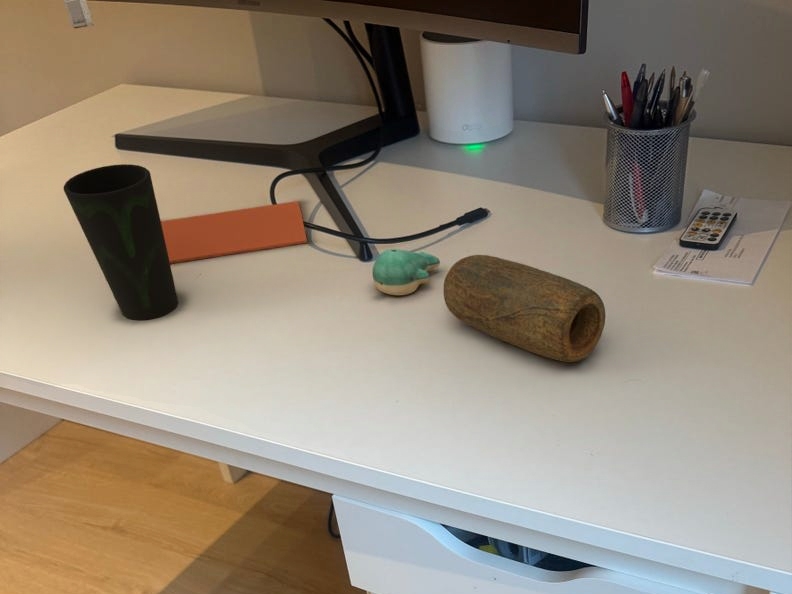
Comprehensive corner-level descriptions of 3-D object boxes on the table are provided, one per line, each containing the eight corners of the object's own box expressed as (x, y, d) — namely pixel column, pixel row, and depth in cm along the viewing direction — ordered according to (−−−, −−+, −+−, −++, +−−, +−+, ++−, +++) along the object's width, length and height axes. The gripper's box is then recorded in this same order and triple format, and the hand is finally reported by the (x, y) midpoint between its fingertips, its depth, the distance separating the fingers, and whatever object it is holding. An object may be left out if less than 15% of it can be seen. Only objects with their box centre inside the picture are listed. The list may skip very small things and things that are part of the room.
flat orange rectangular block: (121, 271, 96) (120, 268, 96) (127, 228, 105) (126, 226, 104) (307, 242, 98) (306, 240, 98) (299, 203, 107) (298, 200, 106)
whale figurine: (361, 290, 89) (355, 251, 86) (413, 263, 93) (408, 225, 90) (403, 305, 86) (398, 266, 84) (454, 277, 90) (451, 238, 87)
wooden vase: (615, 348, 78) (619, 271, 73) (565, 382, 75) (566, 304, 70) (486, 303, 85) (481, 231, 81) (435, 332, 82) (427, 259, 77)
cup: (142, 286, 93) (99, 161, 85) (204, 293, 91) (166, 166, 82) (95, 320, 88) (44, 191, 80) (159, 329, 86) (114, 198, 78)
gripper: (81, -238, 62) (149, 5, 71) (-250, -201, 56) (-127, 55, 66) (95, -239, 57) (166, 19, 67) (-260, -199, 52) (-127, 74, 62)
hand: (18, 37), depth 67 cm, fingers open, 8 cm apart
